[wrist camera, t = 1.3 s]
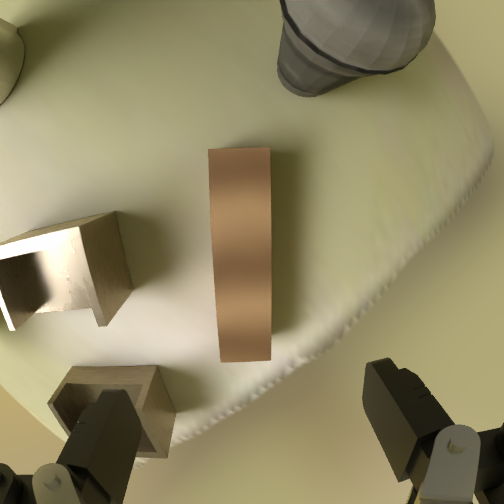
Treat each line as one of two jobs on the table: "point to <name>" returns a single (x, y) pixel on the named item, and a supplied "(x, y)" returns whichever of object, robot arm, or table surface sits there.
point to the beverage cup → (349, 40)
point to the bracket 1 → (65, 270)
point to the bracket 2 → (139, 390)
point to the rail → (242, 251)
